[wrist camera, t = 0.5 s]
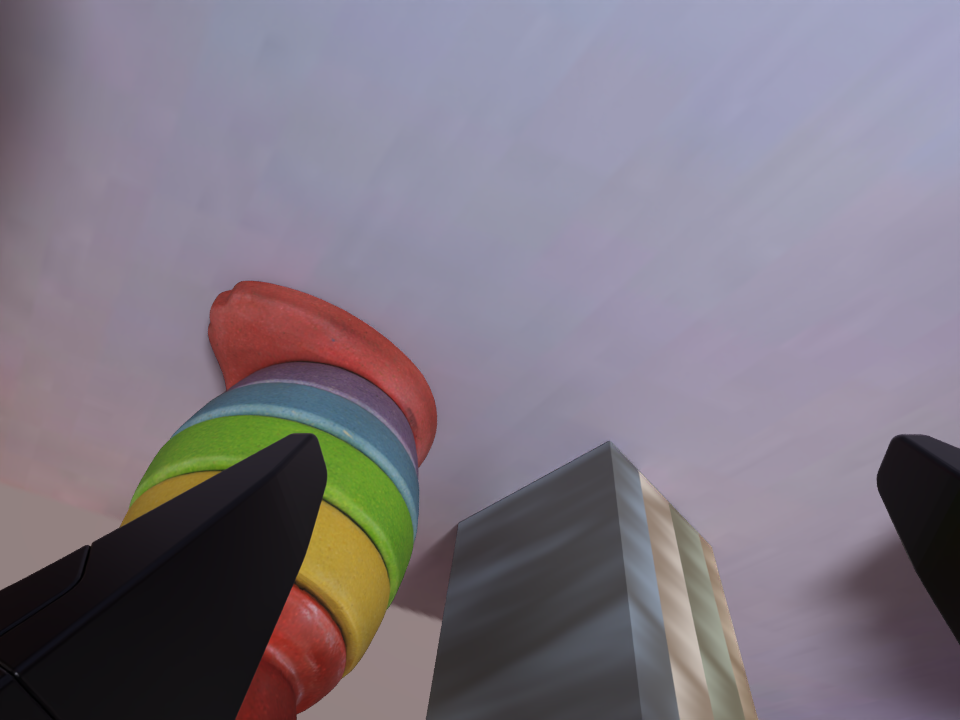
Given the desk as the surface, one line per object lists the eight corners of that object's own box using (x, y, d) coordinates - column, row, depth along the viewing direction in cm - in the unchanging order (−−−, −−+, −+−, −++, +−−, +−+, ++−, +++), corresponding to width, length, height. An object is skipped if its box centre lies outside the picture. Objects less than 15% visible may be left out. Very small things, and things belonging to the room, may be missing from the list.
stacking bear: (217, 264, 23) (-353, 785, 9) (469, 333, 24) (335, 931, 9) (215, 460, 29) (-123, 963, 15) (417, 511, 30) (286, 1045, 15)
